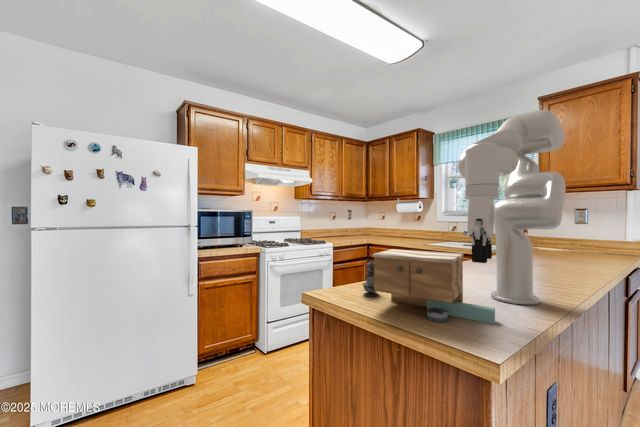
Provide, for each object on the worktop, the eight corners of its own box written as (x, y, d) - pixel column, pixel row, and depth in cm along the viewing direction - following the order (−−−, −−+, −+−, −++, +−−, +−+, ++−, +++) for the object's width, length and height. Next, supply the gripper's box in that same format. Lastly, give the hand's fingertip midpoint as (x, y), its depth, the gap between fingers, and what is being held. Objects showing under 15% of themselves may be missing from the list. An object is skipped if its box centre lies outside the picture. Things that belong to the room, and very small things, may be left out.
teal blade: (429, 310, 83) (429, 297, 83) (495, 321, 73) (495, 307, 73) (426, 312, 81) (426, 299, 81) (494, 324, 71) (493, 310, 71)
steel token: (430, 315, 78) (430, 306, 78) (450, 319, 75) (450, 309, 75) (424, 320, 74) (424, 311, 74) (445, 325, 71) (445, 315, 71)
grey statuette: (362, 297, 95) (362, 260, 95) (362, 292, 101) (362, 257, 101) (380, 297, 94) (380, 260, 94) (380, 293, 100) (379, 258, 100)
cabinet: (393, 298, 93) (392, 249, 93) (464, 310, 81) (463, 253, 81) (371, 311, 81) (371, 254, 81) (452, 327, 69) (451, 260, 69)
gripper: (471, 196, 84) (471, 256, 83) (458, 190, 70) (459, 262, 69) (502, 194, 79) (502, 258, 79) (495, 189, 65) (496, 266, 65)
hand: (482, 260), depth 74 cm, fingers open, 9 cm apart
